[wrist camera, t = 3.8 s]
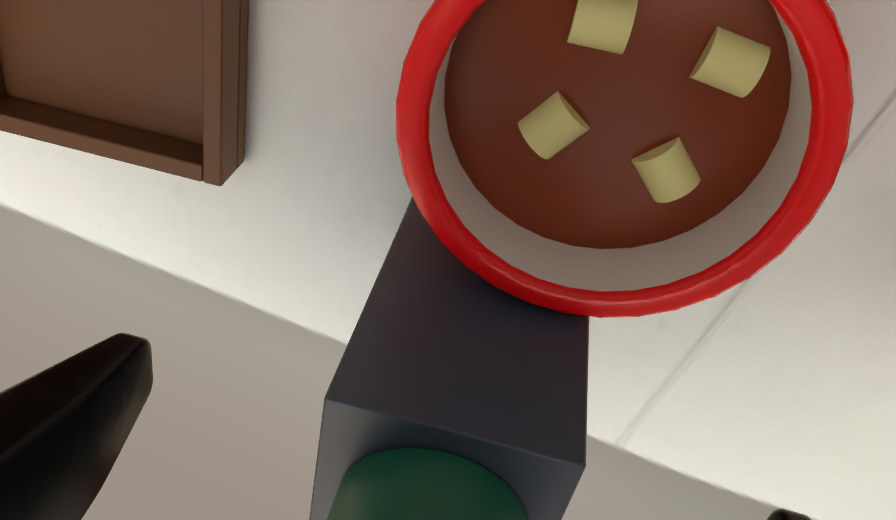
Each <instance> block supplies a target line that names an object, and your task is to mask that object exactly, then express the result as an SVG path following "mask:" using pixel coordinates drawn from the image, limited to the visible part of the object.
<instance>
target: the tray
mask: <svg viewBox="0 0 896 520" xmlns="http://www.w3.org/2000/svg"><path fill="white" fill-rule="evenodd" d="M247 28H248V0H0V130H1V131H5V132H9V133H13V134H17V135H21V136H25V137H29V138H33V139H37V140H41V141H44V142H48V143H52V144H56V145H60V146H64V147H68V148H72V149H76V150H80V151H84V152H88V153H91V154H95V155H99V156H103V157H107V158H111V159H115V160H119V161H123V162H127V163H131V164H135V165H138V166H142V167H146V168H150V169H154V170H158V171H162V172H166V173H170V174H174V175H178V176H182V177H185V178H189V179H193V180H197V181H204V182H205V183H209V184H213V185H217V186H222V185H223V184H224V182H225V181H226V180H227V179H228V178H229V177H230V176H231V175H232V174H233V172H234V171H235V170H236V169H237V168H238V167H239V166H240V165H241V164H242V163H243V161H244V140H245V102H246V65H247Z"/></svg>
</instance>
